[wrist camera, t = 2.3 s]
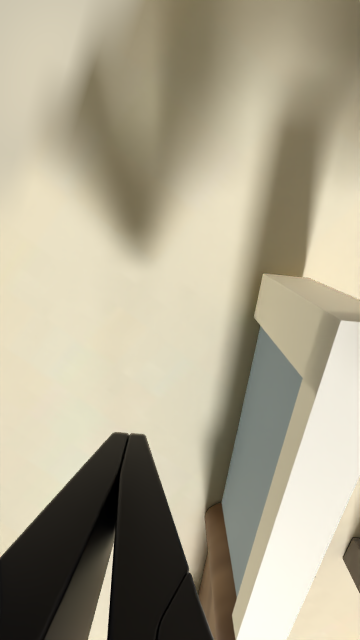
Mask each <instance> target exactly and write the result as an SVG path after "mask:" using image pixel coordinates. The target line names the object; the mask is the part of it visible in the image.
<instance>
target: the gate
mask: <svg viewBox="0 0 360 640" xmlns="http://www.w3.org/2000/svg"><path fill="white" fill-rule="evenodd" d="M254 318H255V319H256V321H257V322H258V323H259V324H260V330H259V335H258V339H257V344H256V348H255V353H254V357H253V362H252V366H251V371H250V376H249V380H248V385H247V389H246V394H245V398H244V403H243V407H242V412H241V417H240V421H239V426H238V430H237V435H236V439H235V444H234V448H233V453H232V457H231V462H230V467H229V471H228V476H227V480H226V485H225V489H224V494H223V498H222V508H223V515H224V521H225V527H226V533H227V540H228V546H229V552H230V558H231V564H232V571H233V577H234V583H235V589H236V596H237V600H236V603H235V607H234V610H233V613H232V619H233V626H234V633H235V640H287V638H288V636H289V633H290V631H291V629H292V627H293V624H294V622H295V620H296V618H297V615H298V613H299V611H300V609H301V607H302V604H303V602H304V600H305V598H306V595H307V593H308V591H309V589H310V586H311V584H312V582H313V580H314V577H315V575H316V573H317V571H318V569H319V566H320V564H321V562H322V560H323V557H324V555H325V553H326V551H327V548H328V546H329V544H330V542H331V539H332V537H333V535H334V533H335V530H336V528H337V526H338V524H339V522H340V519H341V517H342V515H343V513H344V510H345V508H346V506H347V504H348V501H349V499H350V497H351V495H352V492H353V490H354V488H355V486H356V484H357V481H358V479H359V477H360V300H359V299H357V298H354V297H352V296H350V295H347V294H345V293H343V292H340V291H338V290H336V289H333V288H331V287H329V286H327V285H324V284H322V283H320V282H317V281H315V280H313V279H310V278H305V277H295V276H285V275H275V274H265V273H263V276H262V281H261V286H260V291H259V296H258V300H257V305H256V310H255V315H254Z"/></svg>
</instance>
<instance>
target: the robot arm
mask: <svg viewBox="0 0 360 640" xmlns="http://www.w3.org/2000/svg"><path fill="white" fill-rule="evenodd" d="M113 543H114V552H113V566H112V580H111V594H110V608H109V622H108V636H107V640H214V638H213V636H212V633H211V630H210V627H209V624H208V622H207V619H206V616H205V613H204V610H203V608H202V605H201V602H200V599H199V596H198V593H197V590H196V587H195V584H194V581H193V578H192V575H191V573H189V567H188V564H187V561H186V557H185V554H184V551H183V548H182V545H181V542H180V539H179V536H178V533H177V530H176V527H175V524H174V521H173V518H172V515H171V512H170V509H169V506H168V503H167V499H166V496H165V493H164V490H163V487H162V484H161V481H160V478H159V475H158V472H157V469H156V466H155V463H154V460H153V457H152V454H151V451H150V448H149V444H148V441H147V438H146V436H145V435H144V434H135V433H131V434H130V435H129V434H128V433H121V432H114V433H112V434H111V436H110V437H109V438H108V439H107V440H106V441H105V442H104V443H103V444H102V446H101V447H100V448H99V449H98V450H97V451H96V452H95V453H94V454H93V455H92V457H91V458H90V459H89V460H88V461H87V462H86V463H85V464H84V465H83V467H82V468H81V469H80V470H79V471H78V472H77V473H76V474H75V475H74V477H73V478H72V479H71V480H70V481H69V482H68V483H67V484H66V485H65V486H64V488H63V489H62V490H61V491H60V492H59V493H58V494H57V495H56V496H55V498H54V499H53V500H52V501H51V502H50V503H49V504H48V505H47V506H46V507H45V509H44V510H43V511H42V512H41V513H40V514H39V515H38V516H37V517H36V519H35V520H34V521H33V522H32V523H31V524H30V525H29V526H28V527H27V529H26V530H25V531H24V532H23V533H22V534H21V535H20V536H19V537H18V538H17V540H16V541H15V542H14V543H13V544H12V545H11V546H10V547H9V548H8V550H7V551H6V552H5V553H4V554H3V555H2V556H1V557H0V640H88V636H89V633H90V629H91V625H92V621H93V618H94V614H95V610H96V606H97V603H98V599H99V595H100V592H101V588H102V584H103V580H104V577H105V573H106V569H107V565H108V562H109V558H110V554H111V550H112V547H113Z"/></svg>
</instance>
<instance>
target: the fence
mask: <svg viewBox="0 0 360 640" xmlns="http://www.w3.org/2000/svg"><path fill="white" fill-rule="evenodd" d="M205 524H206V535H207V545H208V553H207V558H206V562H205V567H204V572H203V576H202V581H201V586H200V590H199V595H198V596H199V599H200V602H201V605H202V608H203V610H204V613H205V616H206V619H207V622H208V624H209V627H210V630H211V633H212V636H213V638H214V640H235V633H234V626H233V619H232V613H233V610H234V607H235V603H236V600H237V596H236V589H235V583H234V577H233V571H232V564H231V558H230V552H229V546H228V540H227V533H226V527H225V521H224V515H223V508H222V503H218V504H215V505H213V506H212V507H210V508H209V509H208V510H207V512H206V514H205ZM343 560H344V562H345V564H346V566H347V568H348V570H349V572H350V574H351V576H352V579H353V581H354V583H355V585H356V587H357V589H358V591H359V593H360V538H353V539H352V541H351V543H350V545H349V547H348V549H347V551H346V553H345V555H344V557H343Z"/></svg>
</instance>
